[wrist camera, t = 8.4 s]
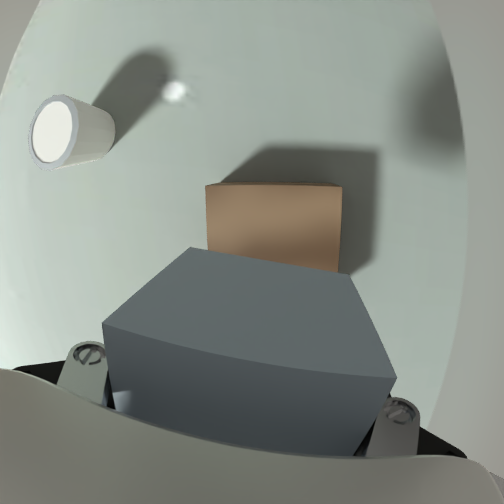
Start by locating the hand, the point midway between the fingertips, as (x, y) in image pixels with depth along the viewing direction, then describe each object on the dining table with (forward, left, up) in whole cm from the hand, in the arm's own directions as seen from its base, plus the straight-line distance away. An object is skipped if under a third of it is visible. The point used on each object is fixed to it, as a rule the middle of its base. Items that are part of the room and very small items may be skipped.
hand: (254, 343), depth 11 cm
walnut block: (0, 0, -17) cm, 17 cm away
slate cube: (0, 0, -1) cm, 1 cm away
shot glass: (-8, -20, -17) cm, 28 cm away
